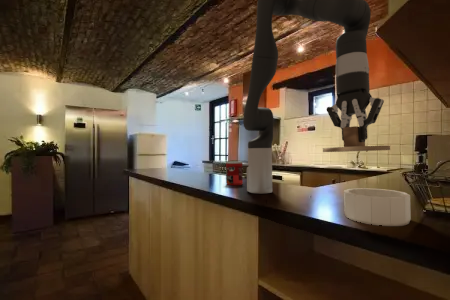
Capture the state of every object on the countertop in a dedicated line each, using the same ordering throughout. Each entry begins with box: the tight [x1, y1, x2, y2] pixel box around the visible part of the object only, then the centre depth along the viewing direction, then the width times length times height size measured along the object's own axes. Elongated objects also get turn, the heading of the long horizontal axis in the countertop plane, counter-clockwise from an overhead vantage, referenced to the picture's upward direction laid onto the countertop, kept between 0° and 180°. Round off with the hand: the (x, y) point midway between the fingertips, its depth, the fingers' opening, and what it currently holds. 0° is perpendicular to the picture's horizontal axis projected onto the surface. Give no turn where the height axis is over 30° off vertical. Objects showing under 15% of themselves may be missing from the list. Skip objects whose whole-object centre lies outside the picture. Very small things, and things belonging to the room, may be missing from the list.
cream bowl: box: [343, 187, 412, 227], centre depth 59 cm, size 13×13×6 cm
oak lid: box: [322, 125, 391, 153], centre depth 63 cm, size 15×15×6 cm
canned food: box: [225, 161, 244, 186], centre depth 121 cm, size 8×8×11 cm
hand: (354, 142), depth 63 cm, fingers closed on oak lid, 3 cm apart
